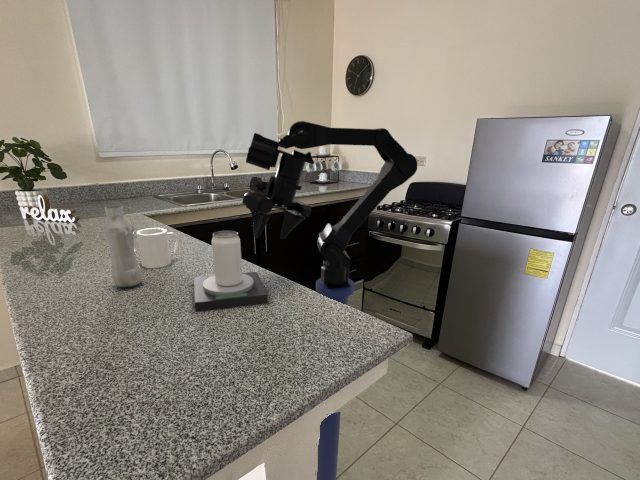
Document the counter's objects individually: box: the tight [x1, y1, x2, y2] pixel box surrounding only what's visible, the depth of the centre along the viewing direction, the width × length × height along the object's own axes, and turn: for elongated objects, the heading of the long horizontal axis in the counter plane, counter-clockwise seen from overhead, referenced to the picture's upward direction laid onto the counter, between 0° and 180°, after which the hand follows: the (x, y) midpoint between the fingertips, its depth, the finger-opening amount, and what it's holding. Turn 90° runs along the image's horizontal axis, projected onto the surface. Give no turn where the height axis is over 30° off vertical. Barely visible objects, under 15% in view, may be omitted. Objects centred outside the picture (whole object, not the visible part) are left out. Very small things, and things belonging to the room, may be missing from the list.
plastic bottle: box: [102, 205, 143, 288], centre depth 85 cm, size 6×7×20 cm
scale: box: [193, 271, 268, 313], centre depth 85 cm, size 16×15×3 cm
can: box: [211, 230, 243, 287], centre depth 82 cm, size 6×6×12 cm
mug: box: [135, 227, 182, 269], centre depth 103 cm, size 12×9×10 cm
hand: (269, 238), depth 87 cm, fingers open, 9 cm apart
